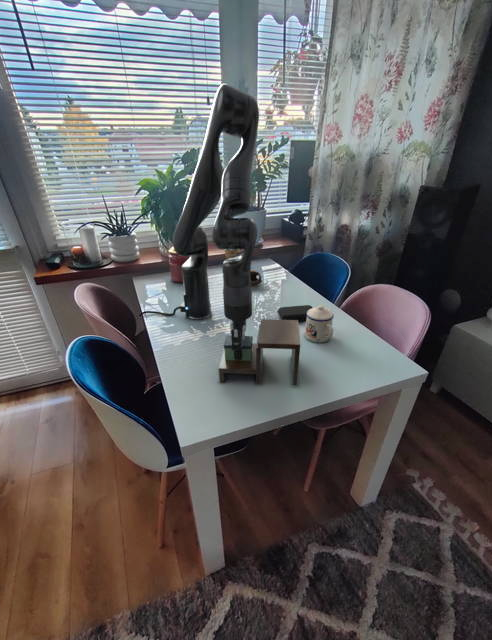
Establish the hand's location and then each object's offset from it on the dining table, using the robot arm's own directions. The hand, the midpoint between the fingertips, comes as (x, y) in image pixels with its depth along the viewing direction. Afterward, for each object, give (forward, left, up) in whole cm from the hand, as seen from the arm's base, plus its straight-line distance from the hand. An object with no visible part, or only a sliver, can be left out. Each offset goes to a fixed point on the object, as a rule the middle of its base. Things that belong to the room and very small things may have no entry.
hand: (239, 351), depth 95 cm
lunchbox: (0, 0, -1) cm, 1 cm away
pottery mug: (-2, +69, -7) cm, 69 cm away
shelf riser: (+6, 0, -6) cm, 9 cm away
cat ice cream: (-16, +102, +4) cm, 103 cm away
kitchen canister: (-37, +77, -6) cm, 85 cm away
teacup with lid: (+26, +20, -7) cm, 33 cm away
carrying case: (+19, +36, -7) cm, 41 cm away
